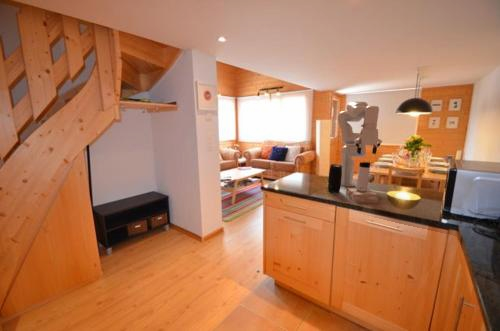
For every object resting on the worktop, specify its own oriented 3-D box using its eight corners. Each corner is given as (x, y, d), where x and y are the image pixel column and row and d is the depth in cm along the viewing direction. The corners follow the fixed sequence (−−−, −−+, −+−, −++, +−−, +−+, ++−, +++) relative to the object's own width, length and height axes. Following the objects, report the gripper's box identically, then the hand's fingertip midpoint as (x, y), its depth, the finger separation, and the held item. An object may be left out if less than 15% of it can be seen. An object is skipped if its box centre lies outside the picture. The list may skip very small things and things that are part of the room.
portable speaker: (332, 194, 158) (335, 166, 154) (324, 189, 167) (326, 164, 163) (343, 193, 161) (345, 166, 156) (334, 188, 170) (337, 163, 165)
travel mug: (361, 193, 146) (365, 162, 141) (354, 190, 152) (357, 160, 147) (369, 192, 147) (373, 162, 143) (361, 189, 154) (365, 160, 149)
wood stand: (345, 194, 157) (346, 187, 156) (365, 194, 157) (366, 188, 156) (355, 202, 144) (356, 194, 142) (377, 202, 144) (378, 195, 143)
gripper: (358, 126, 136) (355, 154, 140) (387, 127, 137) (383, 154, 140) (353, 126, 144) (350, 152, 148) (380, 126, 144) (376, 152, 148)
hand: (366, 153), depth 144 cm, fingers open, 9 cm apart
